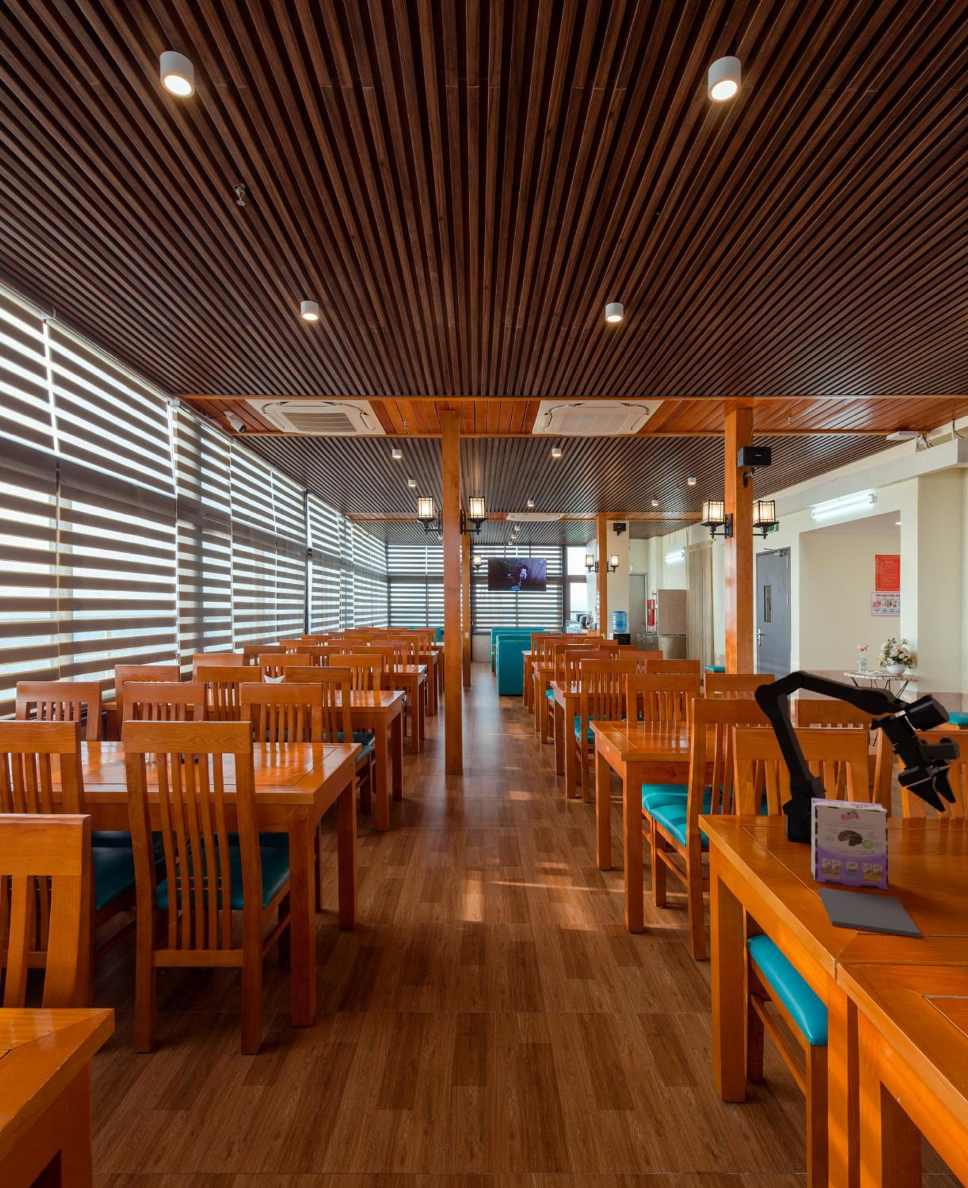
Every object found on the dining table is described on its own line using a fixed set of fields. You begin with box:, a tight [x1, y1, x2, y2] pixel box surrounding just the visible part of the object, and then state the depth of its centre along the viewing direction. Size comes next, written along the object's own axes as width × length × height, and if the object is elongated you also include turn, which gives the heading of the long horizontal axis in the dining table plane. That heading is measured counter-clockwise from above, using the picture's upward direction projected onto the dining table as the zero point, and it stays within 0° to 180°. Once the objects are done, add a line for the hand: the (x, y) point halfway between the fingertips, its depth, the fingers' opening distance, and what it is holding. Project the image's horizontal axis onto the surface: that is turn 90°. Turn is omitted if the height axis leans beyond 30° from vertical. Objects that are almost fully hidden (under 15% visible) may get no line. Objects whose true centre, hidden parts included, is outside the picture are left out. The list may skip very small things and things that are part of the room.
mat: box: [817, 887, 921, 938], centre depth 128 cm, size 14×15×1 cm
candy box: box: [810, 798, 889, 891], centre depth 142 cm, size 14×6×16 cm, turn 71°
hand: (948, 807), depth 145 cm, fingers open, 9 cm apart
